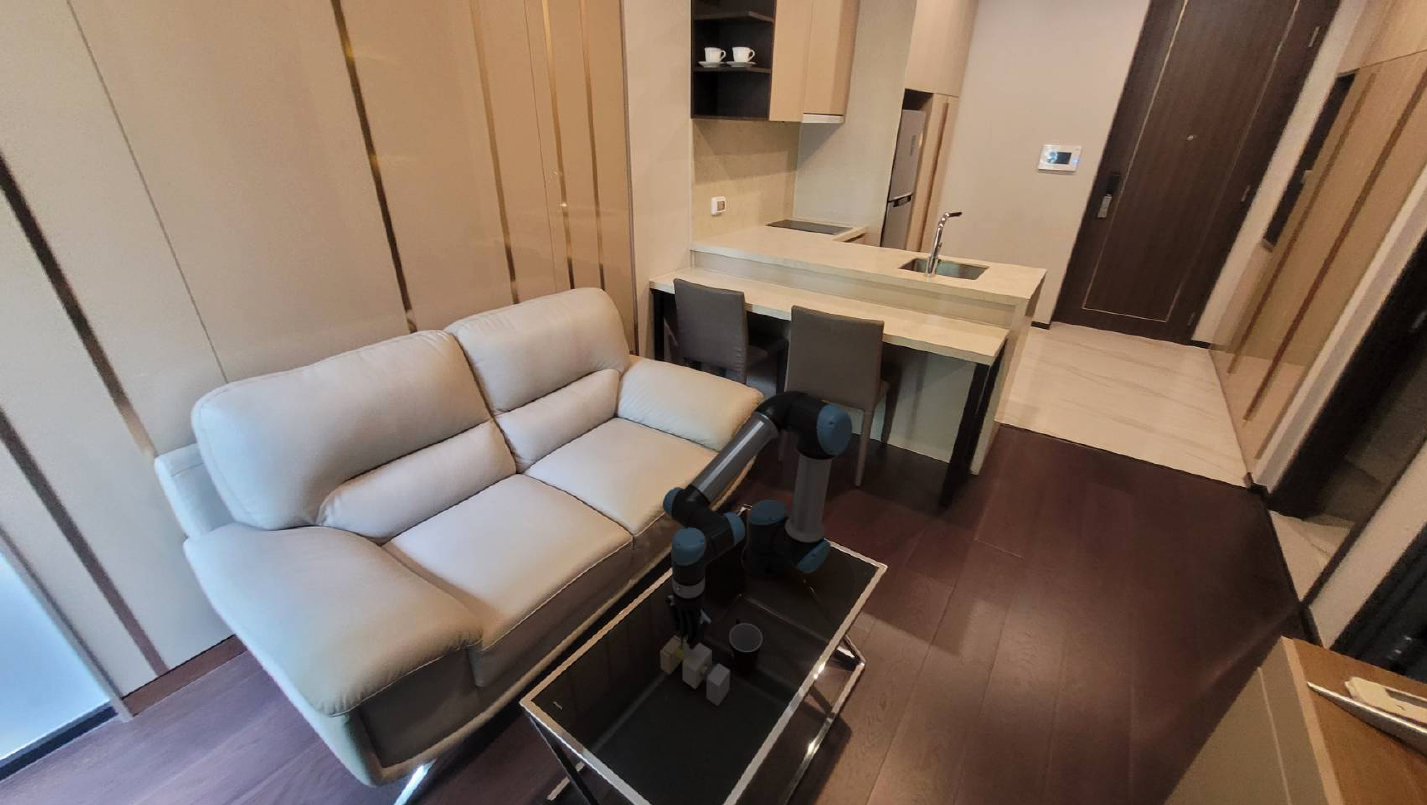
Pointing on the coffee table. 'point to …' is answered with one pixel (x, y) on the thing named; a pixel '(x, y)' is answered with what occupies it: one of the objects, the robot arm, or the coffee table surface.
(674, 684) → the coffee table surface
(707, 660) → the sleeve
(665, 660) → the blocks on yellow rod
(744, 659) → the coffee mug
